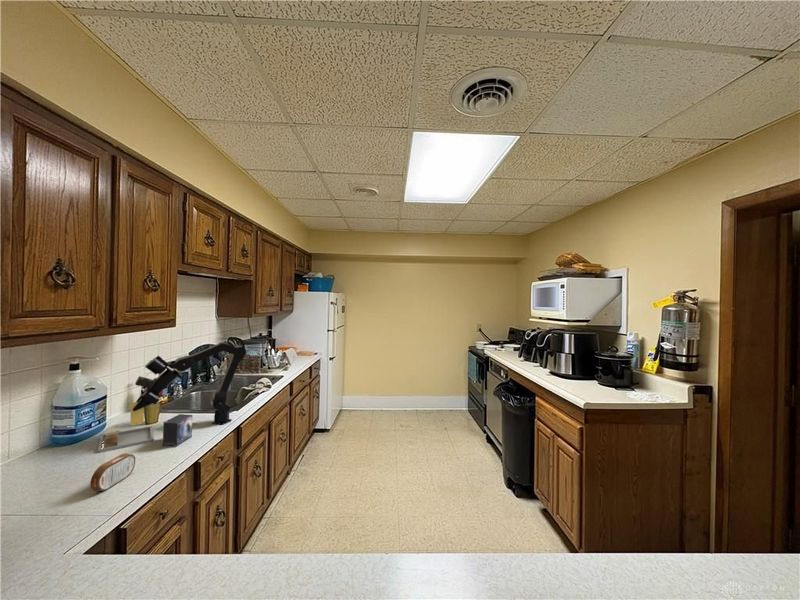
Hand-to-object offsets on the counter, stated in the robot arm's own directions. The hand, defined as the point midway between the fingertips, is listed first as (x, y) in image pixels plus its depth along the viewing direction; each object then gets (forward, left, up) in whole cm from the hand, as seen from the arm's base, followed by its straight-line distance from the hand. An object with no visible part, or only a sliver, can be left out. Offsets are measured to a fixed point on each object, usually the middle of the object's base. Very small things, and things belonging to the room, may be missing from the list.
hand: (133, 409), depth 148 cm
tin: (+27, +30, -14) cm, 42 cm away
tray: (+2, -1, -13) cm, 14 cm away
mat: (-17, +5, -13) cm, 22 cm away
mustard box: (-1, +1, -6) cm, 6 cm away
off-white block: (+4, -7, -13) cm, 15 cm away
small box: (-4, +21, -14) cm, 25 cm away
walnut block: (+8, -1, -13) cm, 15 cm away
